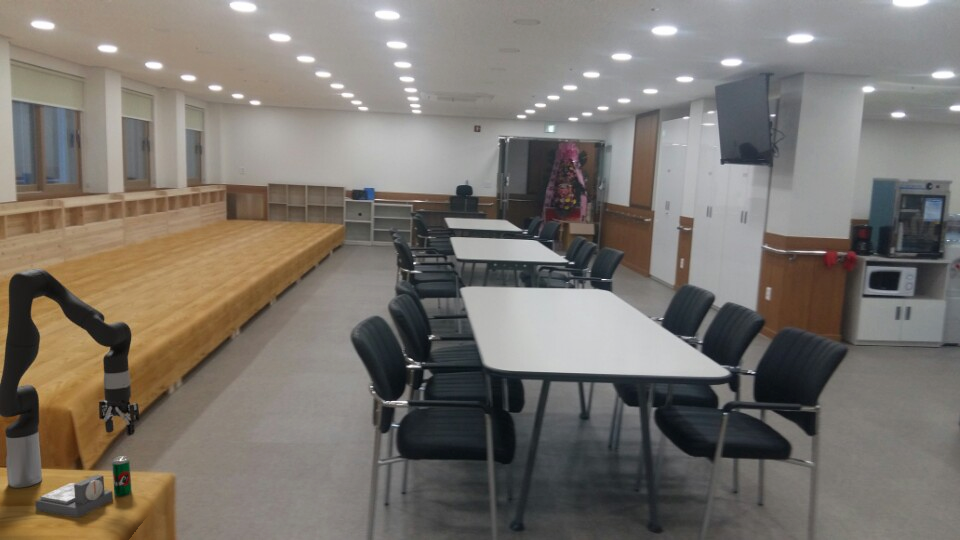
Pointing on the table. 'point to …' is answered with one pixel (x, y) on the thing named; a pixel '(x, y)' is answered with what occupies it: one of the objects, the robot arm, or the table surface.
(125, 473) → the soda can
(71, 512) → the scale base
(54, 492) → the scale platform
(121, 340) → the robot arm
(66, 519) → the table surface
